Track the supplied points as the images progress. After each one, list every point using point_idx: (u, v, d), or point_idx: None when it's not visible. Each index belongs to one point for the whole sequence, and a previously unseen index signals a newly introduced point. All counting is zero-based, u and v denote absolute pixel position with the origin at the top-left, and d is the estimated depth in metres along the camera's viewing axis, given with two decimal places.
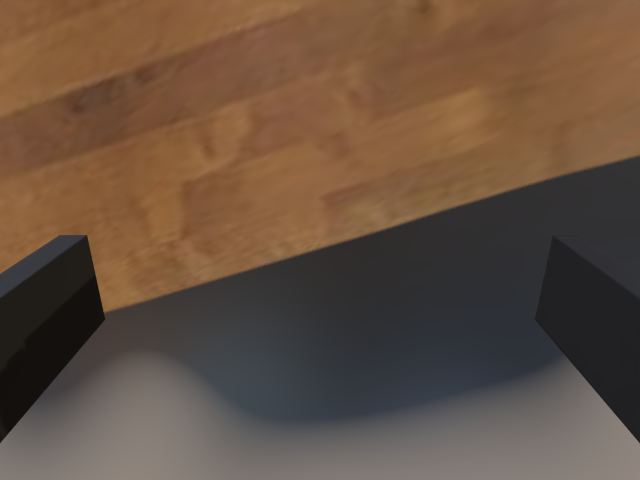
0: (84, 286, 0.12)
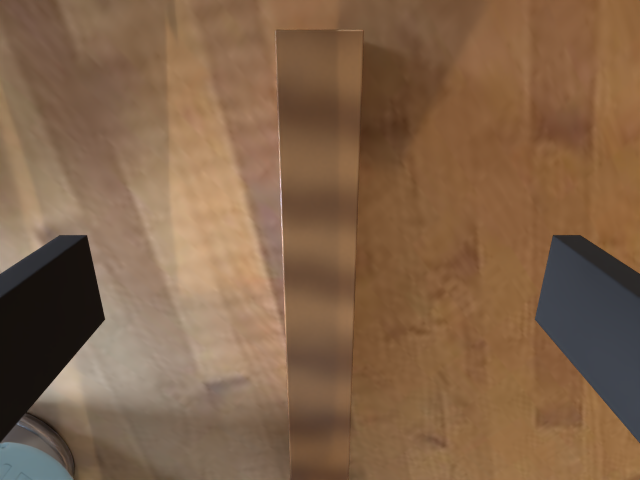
0: (84, 286, 0.12)
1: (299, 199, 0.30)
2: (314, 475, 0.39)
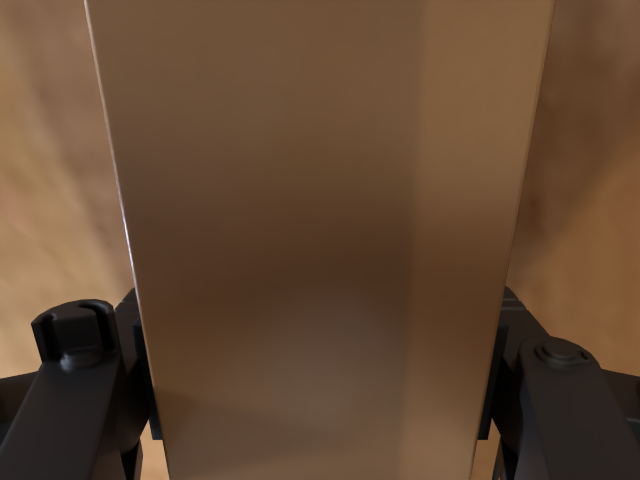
0: None
1: None
2: None
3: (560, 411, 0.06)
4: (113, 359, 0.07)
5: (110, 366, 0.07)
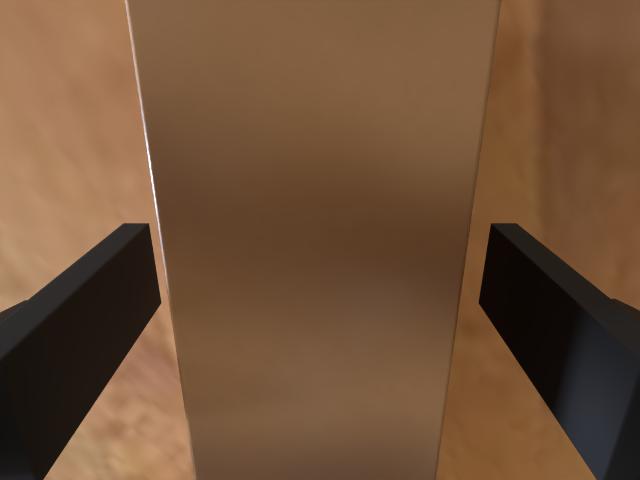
0: (147, 271, 0.13)
1: (253, 478, 0.09)
2: None
3: None
4: None
5: None
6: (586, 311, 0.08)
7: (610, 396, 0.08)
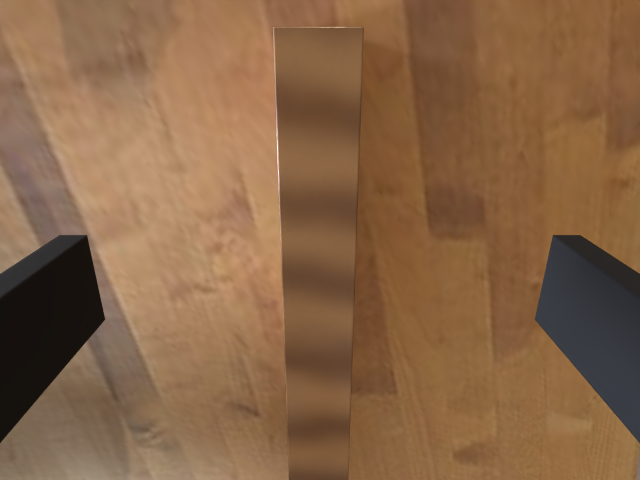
0: (84, 286, 0.12)
1: (298, 199, 0.29)
2: (313, 479, 0.39)
3: None
4: None
5: None
6: None
7: None
